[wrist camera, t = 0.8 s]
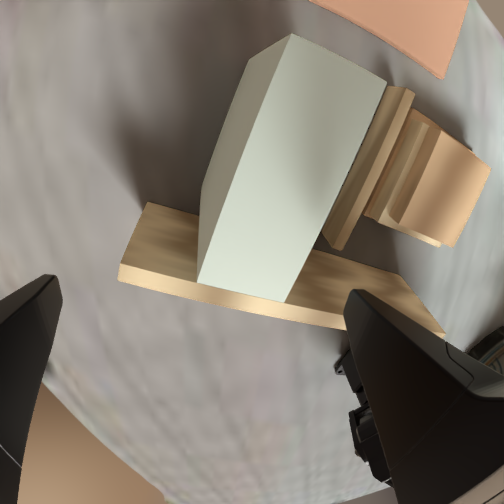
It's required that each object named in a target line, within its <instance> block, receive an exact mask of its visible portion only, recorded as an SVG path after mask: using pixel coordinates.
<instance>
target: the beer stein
mask: <svg viewBox="0 0 504 504" xmlns="http://www.w3.org/2000/svg"><path fill="white" fill-rule="evenodd" d="M467 355H469V356H470V357H472V358H474V359H476V360H477V361H479V362H481V363H482V364H484V365H486V366H488V367H489V368H491V369H493V370H495V371H496V372H498V373H500V374H502V375H503V376H504V326H502V327H500V328H499V329H497V330H496V331H494V332H493V333H491V334H490V335H488V336H487V337H485V338H484V339H483V340H482V341H481V342H480V343H479V344H477V345H476V346H475V347H474V348H473V349H472V350H471V351H470V352H469V353H468V354H467Z"/></svg>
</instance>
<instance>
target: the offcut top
mask: <svg viewBox="0 0 504 504" xmlns="http://www.w3.org/2000/svg"><path fill="white" fill-rule="evenodd" d="M490 171H491V168H490V167H489V166H488V165H486V164H485V163H484V162H483V161H482V160H480V159H479V158H478V157H477V156H475V155H474V154H473V153H471V152H470V151H469V150H468V149H466V148H465V147H464V146H462V145H461V144H460V143H458V142H457V141H456V140H454V139H453V138H452V137H450V136H449V135H447V134H446V133H445V132H443V131H442V130H439V129H436V128H433V127H429V128H428V130H427V132H426V135H425V137H424V140H423V142H422V144H421V147H420V149H419V151H418V154H417V156H416V158H415V161H414V163H413V165H412V167H411V170H410V172H409V174H408V176H407V178H406V181H405V183H404V185H403V187H402V189H401V191H400V193H399V195H398V197H397V200H396V202H395V204H394V206H393V208H392V210H391V212H390V214H389V216H390V217H391V218H392V219H393V220H394V221H395V222H397V223H398V224H399V225H401V226H404V227H406V228H409V229H411V230H413V231H416V232H418V233H420V234H423V235H425V236H427V237H430V238H432V239H434V240H437V241H439V242H441V243H443V244H446V245H448V246H450V247H452V248H453V247H454V245H455V243H456V241H457V239H458V238H459V236H460V234H461V232H462V230H463V228H464V226H465V224H466V222H467V220H468V218H469V216H470V214H471V212H472V210H473V208H474V206H475V204H476V202H477V200H478V198H479V196H480V193H481V191H482V189H483V187H484V185H485V182H486V180H487V178H488V175H489V173H490Z"/></svg>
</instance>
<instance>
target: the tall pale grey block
mask: <svg viewBox="0 0 504 504" xmlns="http://www.w3.org/2000/svg"><path fill="white" fill-rule="evenodd" d="M386 85H387V82H386V81H385V80H383V79H381V78H380V77H378V76H376V75H375V74H373V73H371V72H369V71H368V70H366V69H364V68H362V67H360V66H359V65H357V64H355V63H353V62H351V61H349V60H347V59H346V58H344V57H342V56H340V55H338V54H336V53H334V52H332V51H330V50H328V49H326V48H324V47H321V46H319V45H317V44H315V43H313V42H311V41H308V40H306V39H304V38H302V37H299V36H297V35H295V34H292V33H291V34H289V35H288V36H286V37H284V38H283V39H281V40H279V41H278V42H276V43H274V44H273V45H271V46H269V47H268V48H266V49H264V50H263V51H261V52H260V53H258V54H257V55H255V56H253V57H252V58H250V59H249V60H248V63H247V65H246V68H245V70H244V73H243V75H242V78H241V80H240V83H239V85H238V88H237V90H236V93H235V95H234V98H233V100H232V103H231V106H230V108H229V111H228V113H227V116H226V119H225V122H224V124H223V127H222V130H221V132H220V135H219V138H218V141H217V143H216V146H215V149H214V152H213V155H212V157H211V160H210V163H209V166H208V169H207V172H206V175H205V178H204V181H203V184H202V187H201V199H200V216H199V235H198V257H197V283H200V284H204V285H209V286H213V287H217V288H221V289H225V290H230V291H234V292H238V293H242V294H247V295H251V296H256V297H260V298H264V299H269V300H273V301H278V302H283V303H284V302H285V300H286V298H287V296H288V294H289V292H290V290H291V288H292V286H293V284H294V282H295V280H296V279H297V277H298V275H299V273H300V271H301V269H302V267H303V265H304V263H305V261H306V259H307V257H308V255H309V253H310V251H311V249H312V247H313V245H314V243H315V241H316V239H317V237H318V235H319V233H320V231H321V229H322V227H323V225H324V222H325V220H326V218H327V216H328V214H329V212H330V210H331V208H332V206H333V204H334V202H335V200H336V197H337V195H338V193H339V191H340V189H341V187H342V185H343V183H344V180H345V178H346V176H347V174H348V172H349V170H350V167H351V165H352V163H353V161H354V159H355V156H356V154H357V152H358V150H359V147H360V145H361V143H362V141H363V138H364V136H365V134H366V132H367V129H368V127H369V125H370V122H371V120H372V118H373V115H374V113H375V111H376V108H377V106H378V104H379V101H380V99H381V97H382V94H383V92H384V89H385V87H386Z"/></svg>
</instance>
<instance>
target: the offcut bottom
mask: <svg viewBox="0 0 504 504" xmlns="http://www.w3.org/2000/svg"><path fill="white" fill-rule="evenodd" d="M412 119H414V120H417V121H421V122H424V123H425V124H427V125H428V126H430V127H433V128H436V129H439V130H442V131H443V132H445V133H446V134H447V135H449V136H450V137H452V138H453V139H454V140H456V141H457V142H458V143H460V144H461V145H462V146H464V145H463V144H462V143H461V142H459V141H458V140H457V139H456V138H454V137H453V136H452V135H450V134H449V133H448V132H446V131H445V130H444V129H442V128H441V127H440V126H438V125H437V124H436V123H434V122H433V121H431V120H430V119H429V118H427V117H426V116H424V115H423V114H421V113H420V112H418V111H417V110H415V109H414V108H411V107H410V108H409V111H408V113H407V116H406V118H405V120H404V123H403V125H402V127H401V130H400V132H399V134H398V136H397V139H396V141H395V143H394V145H393V148H392V150H391V152H390V154H389V156H388V159H387V161H386V163H385V165H384V167H383V169H382V172H381V174H380V176H379V178H378V180H377V182H376V184H375V186H374V188H373V190H372V192H371V195H370V197H369V199H368V201H367V203H366V205H365V207H364V209H363V211H362V214H363V215H365V216H367V217H370V218H372V219H374V218H373V217H371V216H370V215H369V213H370V211H371V209H372V207H373V205H374V203H375V201H376V199H377V197H378V195H379V193H380V191H381V188H382V186H383V184H384V182H385V180H386V178H387V176H388V173H389V171H390V169H391V167H392V165H393V162H394V160H395V158H396V156H397V153H398V151H399V149H400V147H401V144H402V142H403V140H404V137H405V135H406V132H407V130H408V128H409V125H410V123H411V120H412ZM464 147H465V148H466V149H468V148H467V147H466V146H464ZM468 150H469V149H468ZM469 151H470V152H471V153H473V152H472V151H471V150H469ZM473 154H474V153H473ZM474 155H475V154H474Z"/></svg>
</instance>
